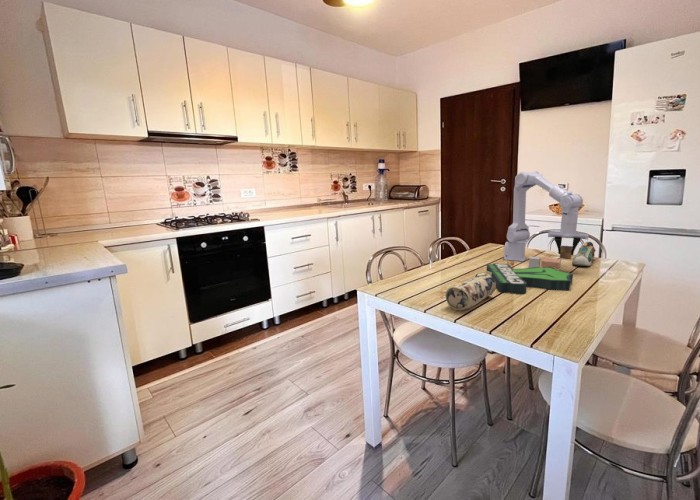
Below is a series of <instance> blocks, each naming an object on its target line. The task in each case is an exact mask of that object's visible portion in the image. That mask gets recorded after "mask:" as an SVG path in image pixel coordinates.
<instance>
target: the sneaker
mask: <svg viewBox="0 0 700 500" xmlns="http://www.w3.org/2000/svg"><path fill="white" fill-rule="evenodd" d="M596 251H597V250H596V249H595V247H594V243H593V242H592V241H586V242H585V243H584V244H582V245H581V246H580V247H579V249H578V252H577V253H576V255H575V256H574V257H572V259H571V260H572V261H571V263H572V265H573V266H582V267H591V266H592V262H593V261H594V258H595V252H596Z"/></svg>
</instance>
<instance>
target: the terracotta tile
mask: <svg viewBox="0 0 700 500" xmlns="http://www.w3.org/2000/svg"><path fill="white" fill-rule="evenodd" d="M561 265H562V259H560V258H551V257H550V258H549V257H544V258H543V259H542V260H541V262H540V267H552V268H554V269H560V267H561Z"/></svg>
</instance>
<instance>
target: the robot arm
mask: <svg viewBox="0 0 700 500" xmlns="http://www.w3.org/2000/svg"><path fill="white" fill-rule="evenodd" d="M535 186H538V187H540V188H541V189H543V190H545V191H546V192H547V193H548V196H549V197H551V198H552V199H553V200H555V201H556V202H558V203H559V206H560V208H561V221H560V223H561V224H560V230H559V231H560V232H558V231H555V232H554V231H552V232H551V231H550V232H548V233H547V237H548V238H554V242H555V244H556V247H557V251H558V255H560V250H561V246H562V240H563V239H572V252H571V256H574V253H575V250H576V248H577V246H578V245H579V243H580V242H581V240H587V241H588V240H589V234H588V233H587V234H586V233H579V232H578V233H577V227H578V215H579V209H580V208H581V207H582V206H583V203H584V199H583V197H582V196H581V194H577V193H576V194H573V192H572V191H569V190H568V189H566V188H565V186H564V185H563V184H561V185H558V184H557V185H555V184H554V183H552V182H551V181H550V180H548V179H547V178H546V177H544V175H543V173H540V172H539V171H527V172H526V171H525V172H523V171H521V172H519V173H518V174H516V175H515V178H514V187H513V206H512V207H513V208H512V209H513V210H512V211H513V212H512V213H513V214H512V223H511V224H510V225H509V226H508V229H507V233H506V239H507V241H505V244H504V248H503V249H504V253H503V260H505V261H515V262H525V261H526V259H527V257H526V256H525V255H526V254H525V253H526V243H527V241H529V239H530V237H531V233H530V230H529V226H528V225H527V224H526V208H527V207H526V202H527V192H528V191H529V190H531V189H532V188H533V187H535Z"/></svg>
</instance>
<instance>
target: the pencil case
mask: <svg viewBox="0 0 700 500" xmlns="http://www.w3.org/2000/svg"><path fill="white" fill-rule="evenodd" d="M491 275H492V272H489V271H487V270H486V271H485V272H482V273H477V274H476V275H475V276H474V277H473V278H471V279H468V280H465V281H462V282H461V283H459V284H458V285H453V286H450V287H448V288H447V290H446V291H445V300H446V303H447V304H448V306H449V307H450V308H451V309H452V310H454V311H464V310H468V309H470V308H472V307H474V306H475V305H478V304H479V303H480V302H482V301H483V300H485V299H486V298H488V297H490V296H492V294H494V292H495V290H496V282H495V280H494V279H493V278H492V277H491Z"/></svg>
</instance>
